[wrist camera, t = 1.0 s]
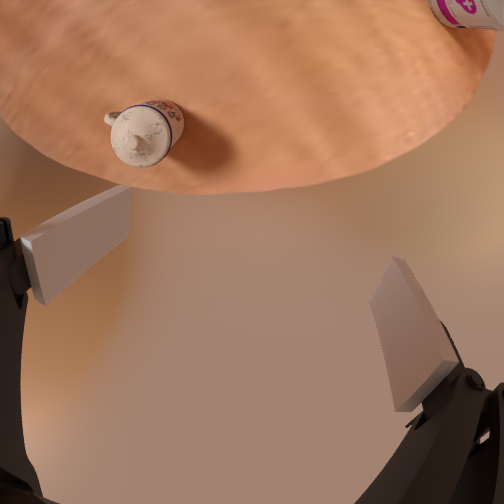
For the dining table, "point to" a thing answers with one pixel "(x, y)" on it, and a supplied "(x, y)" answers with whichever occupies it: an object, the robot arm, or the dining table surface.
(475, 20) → the supplement can
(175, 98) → the dining table surface
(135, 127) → the teacup with lid
